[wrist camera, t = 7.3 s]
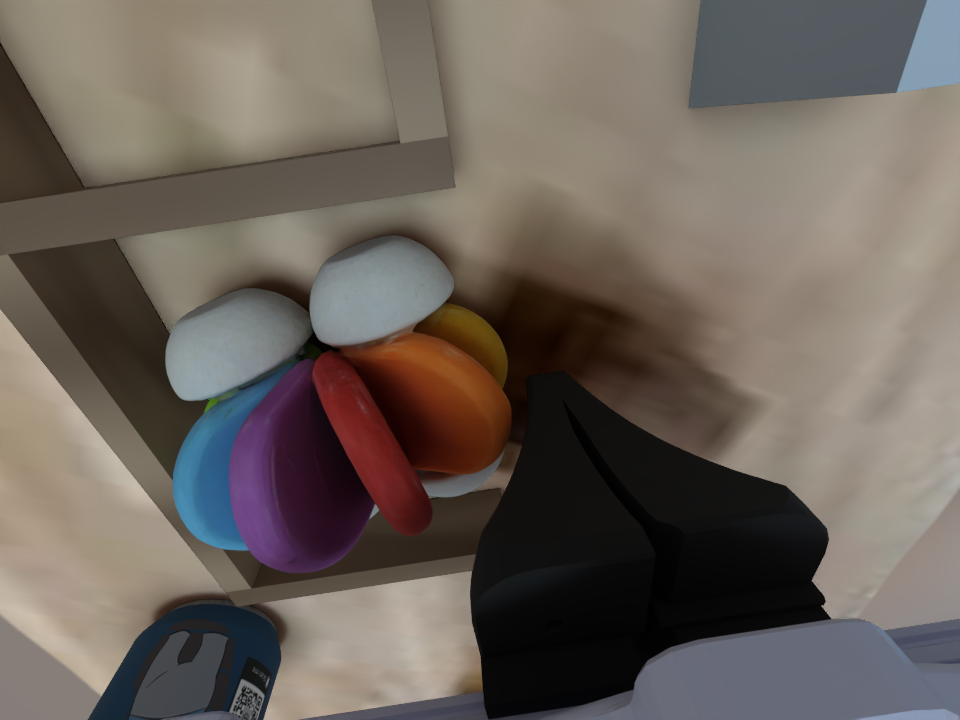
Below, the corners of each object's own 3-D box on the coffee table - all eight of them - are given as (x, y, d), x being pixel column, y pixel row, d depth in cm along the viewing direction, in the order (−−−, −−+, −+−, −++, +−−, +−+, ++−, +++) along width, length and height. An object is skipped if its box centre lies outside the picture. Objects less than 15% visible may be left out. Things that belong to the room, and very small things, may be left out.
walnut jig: (501, 503, 19) (511, 564, 16) (265, 539, 19) (236, 606, 16) (375, -341, 7) (338, -602, 5) (-235, -253, 7) (-616, -466, 5)
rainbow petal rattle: (528, 412, 16) (583, 596, 10) (309, 482, 17) (230, 690, 11) (454, 198, 12) (467, 279, 6) (167, 306, 13) (-98, 478, 7)
